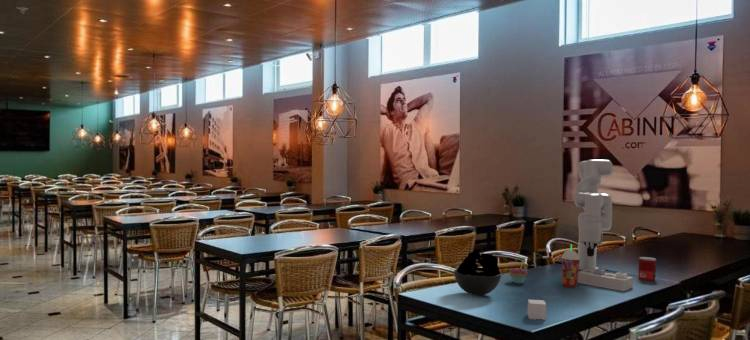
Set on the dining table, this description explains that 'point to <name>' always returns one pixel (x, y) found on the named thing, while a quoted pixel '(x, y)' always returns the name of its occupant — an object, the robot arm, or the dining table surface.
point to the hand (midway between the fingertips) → (590, 256)
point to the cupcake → (518, 274)
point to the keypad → (605, 281)
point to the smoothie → (570, 268)
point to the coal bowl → (478, 273)
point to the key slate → (599, 271)
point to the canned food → (647, 268)
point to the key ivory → (621, 275)
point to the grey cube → (536, 309)
